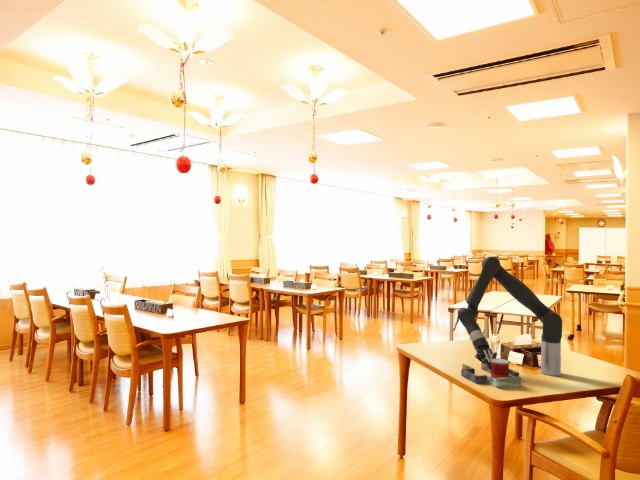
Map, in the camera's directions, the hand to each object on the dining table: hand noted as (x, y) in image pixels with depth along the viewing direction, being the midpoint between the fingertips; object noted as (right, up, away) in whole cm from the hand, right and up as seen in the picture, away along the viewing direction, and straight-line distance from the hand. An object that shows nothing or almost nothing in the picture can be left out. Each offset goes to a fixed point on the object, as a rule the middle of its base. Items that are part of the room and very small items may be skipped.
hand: (493, 370), depth 215 cm
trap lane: (-1, -5, +3) cm, 6 cm away
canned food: (+1, -5, -4) cm, 7 cm away
